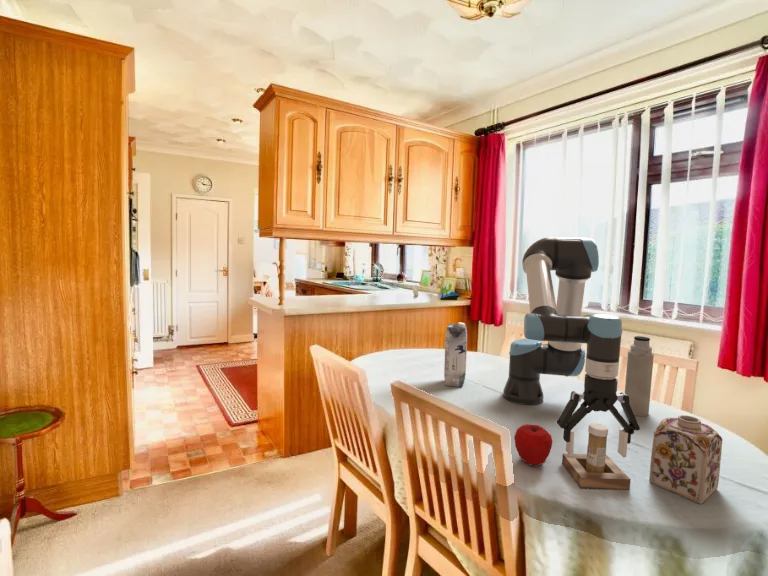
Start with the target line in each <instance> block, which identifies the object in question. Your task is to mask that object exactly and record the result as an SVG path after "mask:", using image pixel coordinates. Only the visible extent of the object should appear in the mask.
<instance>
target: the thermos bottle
mask: <svg viewBox="0 0 768 576" xmlns="http://www.w3.org/2000/svg"><path fill="white" fill-rule="evenodd" d="M633 339H634V340H633V343H632V344H630V347H629V348H630V350H627V359H626V360H627V361H626V362H627V363H626V374H625V383H624V384H625V386H624V394H626V395H627V396H629V404H630V406H631V409H632V411H633V413H634V416H638V417H640V416H641V417H646V416H649V413H650V401H651V391H652V377H653V368H654V367H653V366H654V353H653V348H652V346H651V345H650V341H651V337H649V336H648V337H647V336H642V335H641V336H639V335H637V336H633Z"/></svg>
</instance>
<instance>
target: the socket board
mask: <svg viewBox="0 0 768 576" xmlns="http://www.w3.org/2000/svg"><path fill="white" fill-rule="evenodd" d="M561 458H562V459H561V464H562V466H563V467H564V468H565V470H566V471H567V473H568V474H569V476H571V479H573V481H574V482H575V483H576V484H577V486H578V488H579V489H580V490H596V491H597V490H602V491H628V492H629V491H631V490H630V489H631V478H630V477H629V476H628V475H627V474H626V473H625V472H624V471H623V470H622V469H621V468H620V467H619V466H618V465H617V464H616V462H614V461H613V459H611V458H610V457H609V456H608V455H607V454H606V458H605V466H604V473H588V472H586V470H585V469H586V462H587V460H586V459H587V453H573V456H570V455H569V454H568V453H565V452H564V453H562V457H561Z"/></svg>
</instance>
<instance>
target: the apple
mask: <svg viewBox="0 0 768 576" xmlns="http://www.w3.org/2000/svg"><path fill="white" fill-rule="evenodd" d="M513 437H514V445H515V446H514V447H515V449H516V451H517V455H518V457H519V458H520V459H521V460H522V461H523V462H525V463H526V464H527V465H530V466H534V467H535V466H539V465H543V464H545V462H546V461H547V458H548V457H549V455H550V453H551V449H552V446H553V437H552V434H550V433H549V431H547V429H545V428H544V427H542V426H540V425H538V424H537V425H536V424H530V423H529V424H528V423H527V424H522V425H521V426H519V427H518V428H516V432H515V434H514V436H513Z"/></svg>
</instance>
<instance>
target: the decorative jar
mask: <svg viewBox="0 0 768 576" xmlns="http://www.w3.org/2000/svg"><path fill="white" fill-rule="evenodd" d="M722 447H723V438H722V436H721V435H720V433H718V432H717V431H716V430H715V429H714V428H713V427H711V426H710V425H708V424H706V423H702V421H701V419H699V418H697V417H694V416H691V415H678V417H667V418H664V419H662V420H660V422H659V424H658V426H656V429H655V431H653V440H652V448H651V456H650V466H649V467H650V469H649V480H648V481H649V483H651V484H653V485H654V486H658V487H659V488H663V489H664V490H666V491H667V490H668V491H670V492H671V493H674V494H675V495H676V494H677V495H679V496H680V497H683V498H684V499H685V498H686V499H688V500H691V501H692V502H695V503H697V504H700V505H702V504H703V503H705V502H706V501H707V500H708V499H709V498H710V497H711V496H712V495H713V493H715V491H717V490H718V488H719V480H720V471H721V460H722V450H723V449H722Z"/></svg>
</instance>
